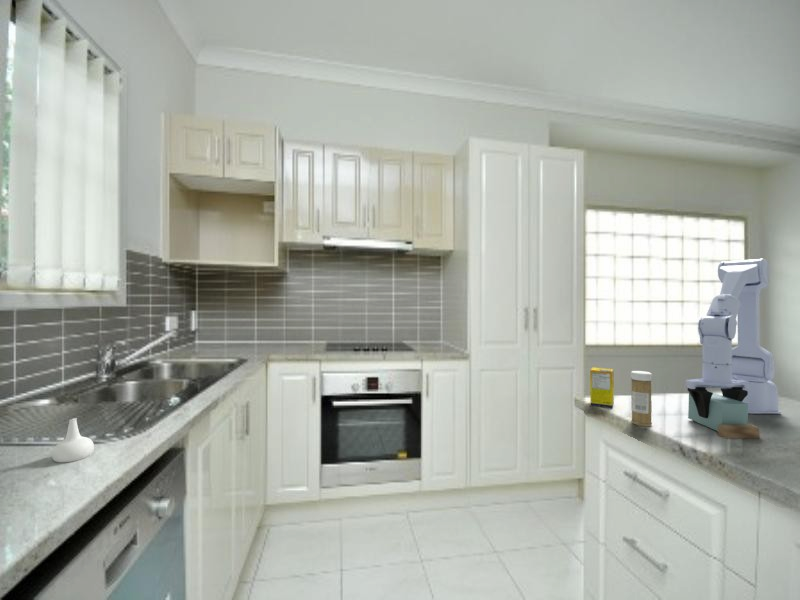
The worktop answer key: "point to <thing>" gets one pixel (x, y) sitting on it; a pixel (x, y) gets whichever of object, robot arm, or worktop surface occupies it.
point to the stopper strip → (738, 431)
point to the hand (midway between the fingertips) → (716, 416)
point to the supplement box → (602, 387)
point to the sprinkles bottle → (641, 398)
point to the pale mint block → (720, 412)
